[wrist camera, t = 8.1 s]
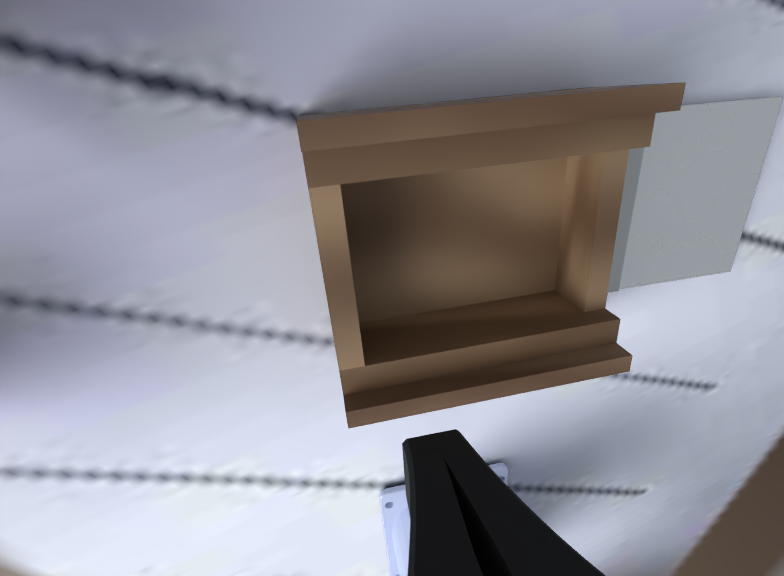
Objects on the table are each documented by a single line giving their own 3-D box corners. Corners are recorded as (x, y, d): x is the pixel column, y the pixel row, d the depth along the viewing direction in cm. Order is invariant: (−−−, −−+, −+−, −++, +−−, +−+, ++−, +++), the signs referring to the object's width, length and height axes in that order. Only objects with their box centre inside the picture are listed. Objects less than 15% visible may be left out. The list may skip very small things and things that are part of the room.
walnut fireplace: (563, 316, 22) (629, 371, 18) (338, 356, 20) (348, 428, 16) (587, 87, 17) (685, 82, 13) (298, 115, 16) (296, 121, 11)
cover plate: (714, 264, 23) (757, 282, 21) (560, 288, 22) (589, 310, 20) (761, 97, 20) (820, 96, 17) (580, 113, 18) (619, 114, 16)
